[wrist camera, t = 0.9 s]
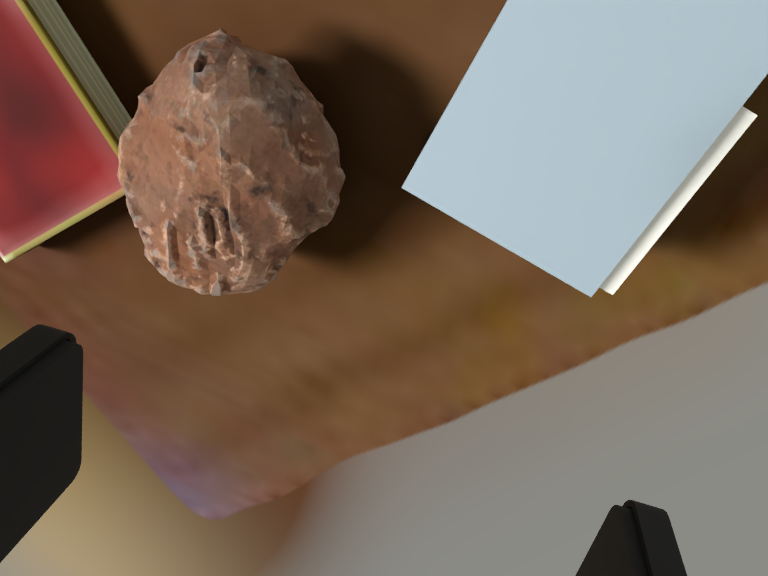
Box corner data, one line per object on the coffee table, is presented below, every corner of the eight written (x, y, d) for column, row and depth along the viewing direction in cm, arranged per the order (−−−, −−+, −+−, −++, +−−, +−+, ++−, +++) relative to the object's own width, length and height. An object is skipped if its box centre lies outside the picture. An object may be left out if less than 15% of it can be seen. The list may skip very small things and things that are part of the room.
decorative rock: (233, -5, 35) (139, -7, 26) (404, 115, 36) (370, 153, 27) (142, 187, 40) (39, 240, 31) (292, 286, 41) (233, 365, 32)
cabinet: (681, -306, 27) (751, -428, 19) (913, -155, 28) (1071, -216, 20) (422, 148, 36) (401, 187, 29) (601, 252, 37) (626, 317, 29)
